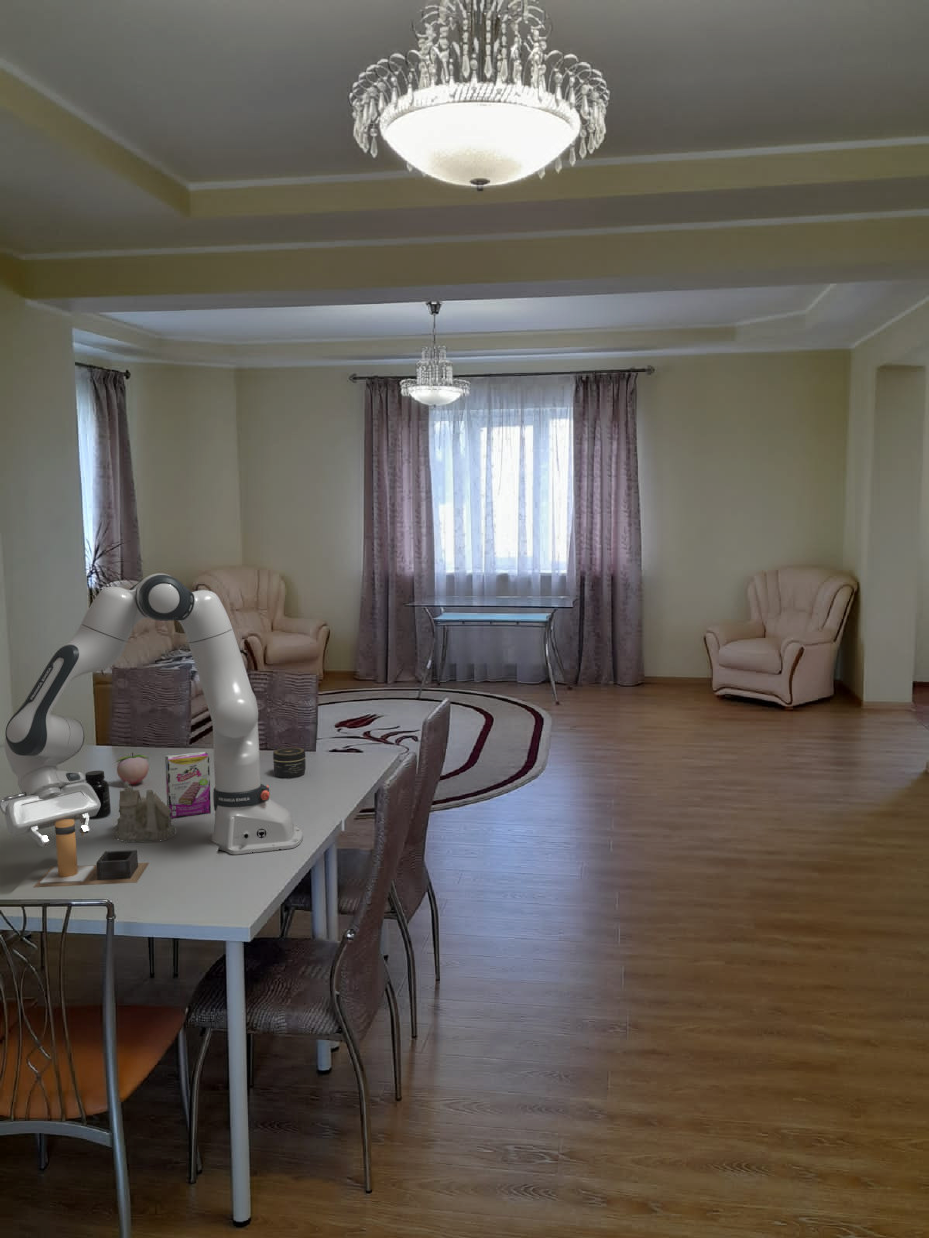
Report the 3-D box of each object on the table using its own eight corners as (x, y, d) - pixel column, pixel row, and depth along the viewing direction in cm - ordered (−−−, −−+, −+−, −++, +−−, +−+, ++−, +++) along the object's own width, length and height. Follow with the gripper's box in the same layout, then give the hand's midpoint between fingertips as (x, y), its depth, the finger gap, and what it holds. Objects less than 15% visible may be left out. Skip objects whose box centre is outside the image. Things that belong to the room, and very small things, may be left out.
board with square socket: (149, 868, 226) (148, 845, 225) (137, 888, 214) (135, 864, 213) (51, 873, 224) (49, 850, 223) (33, 893, 212) (31, 869, 211)
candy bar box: (169, 819, 262) (166, 759, 260) (167, 814, 266) (164, 755, 265) (212, 813, 267) (209, 754, 265) (208, 808, 271) (206, 750, 269)
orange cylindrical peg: (80, 869, 221) (77, 818, 219) (74, 876, 216) (71, 824, 215) (61, 870, 220) (58, 819, 219) (55, 877, 216) (52, 825, 215)
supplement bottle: (104, 809, 271) (101, 767, 270) (115, 815, 266) (112, 772, 265) (79, 815, 266) (77, 772, 265) (90, 821, 262) (88, 777, 260)
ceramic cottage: (165, 842, 243) (161, 782, 243) (103, 843, 245) (99, 784, 245) (190, 826, 259) (187, 770, 258) (132, 826, 261) (128, 771, 260)
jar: (311, 775, 303) (310, 751, 302) (281, 781, 297) (280, 756, 297) (297, 768, 311) (297, 745, 310) (268, 774, 306) (267, 750, 305)
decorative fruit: (124, 790, 289) (123, 757, 288) (114, 785, 295) (112, 753, 294) (155, 784, 295) (153, 752, 294) (144, 779, 301) (142, 747, 300)
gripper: (0, 790, 213) (22, 844, 208) (89, 771, 228) (112, 820, 223) (-7, 806, 217) (15, 859, 211) (81, 786, 232) (104, 835, 226)
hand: (66, 839), depth 217 cm, fingers open, 8 cm apart
